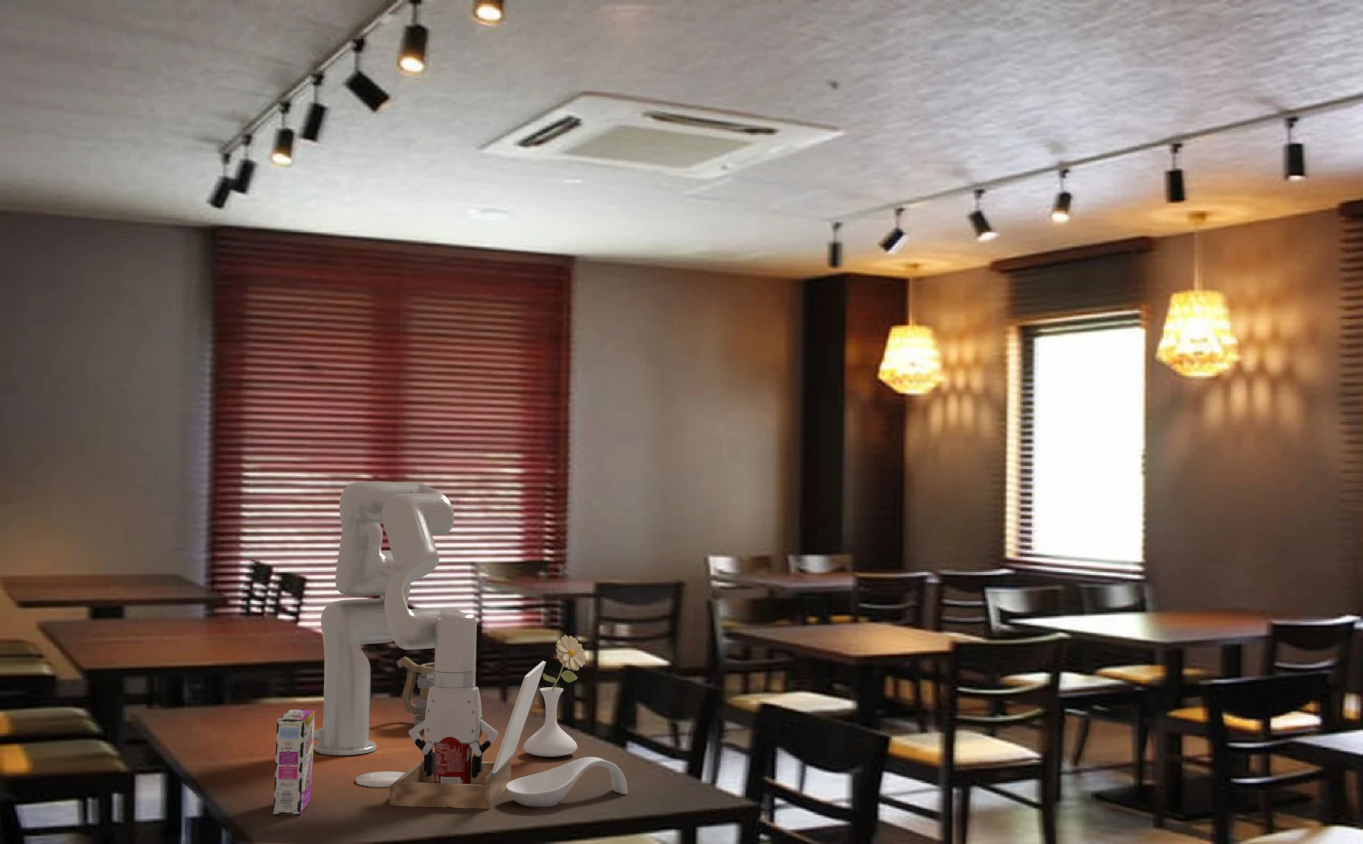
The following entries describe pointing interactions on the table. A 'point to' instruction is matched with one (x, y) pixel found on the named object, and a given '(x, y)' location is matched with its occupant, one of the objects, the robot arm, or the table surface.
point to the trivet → (378, 779)
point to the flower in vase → (551, 735)
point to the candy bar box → (294, 761)
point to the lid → (518, 718)
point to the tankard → (422, 684)
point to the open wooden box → (449, 789)
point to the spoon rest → (559, 782)
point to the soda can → (452, 762)
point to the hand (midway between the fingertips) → (452, 775)
